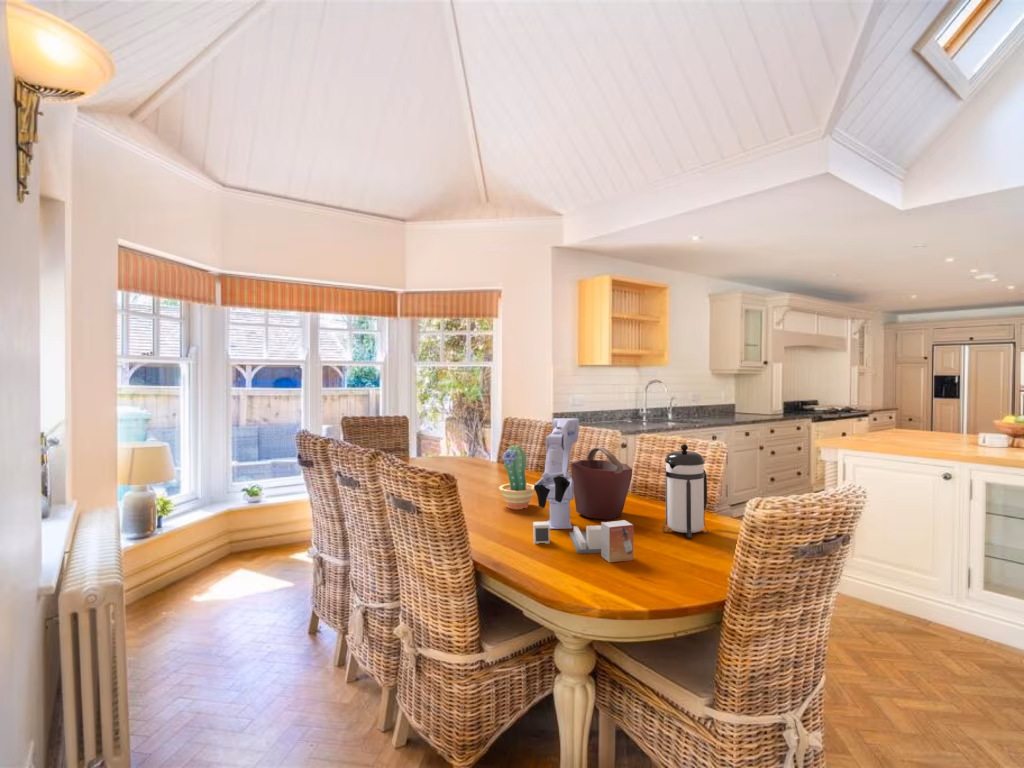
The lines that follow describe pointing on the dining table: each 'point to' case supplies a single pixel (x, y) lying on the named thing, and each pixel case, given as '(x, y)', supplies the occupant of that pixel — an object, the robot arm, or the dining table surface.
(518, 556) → the dining table surface
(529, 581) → the dining table surface
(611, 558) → the small box
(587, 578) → the dining table surface
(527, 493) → the potted cactus
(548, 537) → the block
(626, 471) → the bucket
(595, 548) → the rail plate
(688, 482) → the coffee press
